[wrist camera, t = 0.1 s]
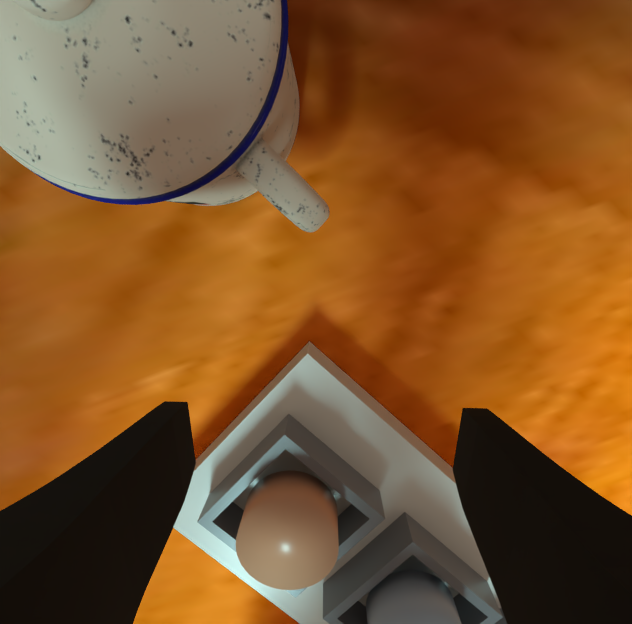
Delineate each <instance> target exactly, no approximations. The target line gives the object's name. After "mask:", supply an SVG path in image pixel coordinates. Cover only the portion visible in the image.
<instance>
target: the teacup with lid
mask: <svg viewBox="0 0 632 624" xmlns="http://www.w3.org/2000/svg"><path fill="white" fill-rule="evenodd" d="M299 106H300V103H299V92H298V86H297V81H296V76H295V72H294V67H293V63H292V58H291V54H290V49H289V45H288V7H287V0H0V146H1V147H2V148H3V149H4V150H5V151H6V152H7V153H9V154H10V155H11V156H12V157H13V158H15V159H16V160H17V161H18V162H20V163H21V164H22V165H24V166H25V167H27V168H28V169H29V170H31V171H32V172H34V173H35V174H37V175H38V176H40V177H41V178H42V179H44V180H46V181H48V182H50V183H51V184H53V185H55V186H57V187H59V188H61V189H64V190H66V191H68V192H70V193H73V194H76V195H79V196H82V197H85V198H88V199H92V200H96V201H101V202H106V203H114V204H129V205H138V204H150V203H156V202H162V201H170V202H178V203H187V204H195V205H203V206H215V205H224V204H229V203H233V202H236V201H239V200H241V199H244V198H246V197H248V196H250V195H252V194H254V193H255V192H257V191H259V192H260V193H261V194H262V195H263V196H264V197H265V198H266V199H267V200H268V201H269V202H271V203H272V204H273V205H274V206H275V207H276V208H277V209H278V210H279V211H280V212H281V213H283V214H284V215H285V216H286V217H287V218H288V219H289V220H291V221H292V222H293V223H294V224H295V225H296V226H298V227H299V228H300V229H302V230H304V231H306V232H314V231H316V230H317V229H319V228H320V227H321V226H322V224H323V223H324V222H325V221H326V220H327V219H328V217H329V207H328V205H327V204H326V202H325V201H324V200H323V199H322V198H321V197H320V196H319V195H318V194H317V192H316V191H315V190H314V189H313V188H312V187H311V186H310V185H309V184H308V183H307V182H306V181H305V180H304V179H303V178H302V177H301V176H300V175H299V174H298V173H297V172H296V171H295V170H294V169H293V168H292V167H291V166H290V165H289V164H288V163H287V162H286V159H287V157H288V155H289V153H290V151H291V149H292V146H293V144H294V140H295V137H296V133H297V128H298V123H299Z"/></svg>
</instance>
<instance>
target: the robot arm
mask: <svg viewBox="0 0 632 624" xmlns="http://www.w3.org/2000/svg"><path fill="white" fill-rule="evenodd" d="M195 465H196V461H195V454H194V446H193V439H192V432H191V424H190V417H189V410H188V403H187V402H163V403H162V404H160V405H159V406H157V407H156V408H155V409H153V410H152V411H150V412H149V413H148V414H146V415H145V416H144V417H142V418H141V419H140V420H138V421H137V422H136V423H134V424H133V425H132V426H130V427H129V428H128V429H126V430H125V431H124V432H122V433H121V434H120V435H118V436H117V437H115V438H114V439H113V440H111V441H110V442H109V443H107V444H106V445H104V446H103V447H102V448H100V449H99V450H97V451H96V452H95V453H93V454H92V455H90V456H89V457H87V458H86V459H84V460H83V461H81V462H80V463H78V464H77V465H75V466H74V467H72V468H71V469H69V470H68V471H66V472H65V473H63V474H62V475H61V476H59V477H57V478H56V479H54V480H53V481H51V482H50V483H48V484H46V485H45V486H43V487H41V488H40V489H38V490H36V491H35V492H33V493H31V494H30V495H28V496H26V497H24V498H23V499H21V500H19V501H17V502H16V503H14V504H12V505H10V506H9V507H7V508H5V509H3V510H1V511H0V624H133V621H134V618H135V616H136V613H137V610H138V607H139V605H140V602H141V600H142V597H143V595H144V592H145V590H146V587H147V585H148V583H149V581H150V578H151V576H152V574H153V572H154V569H155V567H156V565H157V563H158V560H159V558H160V556H161V554H162V551H163V549H164V547H165V545H166V542H167V540H168V538H169V536H170V533H171V531H172V529H173V527H174V524H175V522H176V520H177V517H178V515H179V513H180V511H181V508H182V506H183V503H184V501H185V498H186V495H187V492H188V489H189V485H190V482H191V479H192V475H193V472H194V468H195ZM453 474H454V478H455V482H456V486H457V490H458V494H459V497H460V501H461V505H462V508H463V511H464V514H465V516H466V519H467V521H468V524H469V527H470V529H471V532H472V534H473V537H474V539H475V542H476V544H477V547H478V549H479V552H480V554H481V557H482V559H483V562H484V564H485V567H486V570H487V572H488V575H489V577H490V580H491V582H492V585H493V587H494V590H495V592H496V595H497V597H498V600H499V602H500V605H501V608H502V611H503V614H504V616H505V619H506V622H507V624H632V516H631V515H629V514H628V513H626V512H625V511H623V510H622V509H620V508H618V507H617V506H615V505H614V504H612V503H611V502H609V501H608V500H606V499H605V498H603V497H602V496H600V495H599V494H598V493H596V492H595V491H593V490H592V489H591V488H589V487H588V486H586V485H585V484H584V483H582V482H581V481H579V480H578V479H576V478H575V477H574V476H572V475H571V474H570V473H568V472H567V471H566V470H564V469H563V468H562V467H560V466H559V465H558V464H556V463H555V462H554V461H552V460H551V459H550V458H549V457H547V456H546V455H545V454H543V453H542V452H541V451H540V450H538V449H537V448H536V447H535V446H533V445H532V444H531V443H530V442H528V441H527V440H526V439H525V438H523V437H522V436H521V435H520V434H518V433H517V432H516V431H515V430H514V429H512V428H511V427H510V426H509V425H507V424H506V423H505V422H504V421H502V420H501V419H500V418H499V417H497V416H496V415H495V414H494V413H492V412H491V411H489V410H488V409H483V408H463V410H462V416H461V422H460V429H459V435H458V441H457V447H456V453H455V459H454V465H453Z"/></svg>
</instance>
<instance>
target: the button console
mask: <svg viewBox="0 0 632 624" xmlns="http://www.w3.org/2000/svg"><path fill="white" fill-rule="evenodd" d="M195 461H196V465H195V468H194V472H193V475H192V479H191V482H190V485H189V489H188V492H187V495H186V498H185V501H184V503H183V506H182V508H181V511H180V513H179V515H178V517H177V520H176V522H175V524H174V527H173V528H175V529H176V530H177V531H179V532H180V533H181V534H182V535H184V536H185V537H186V538H188V539H189V540H190V541H192V542H193V543H194V544H196V545H197V546H198V547H200V548H201V549H202V550H204V551H205V552H206V553H207V554H209V555H210V556H211V557H213V558H214V559H215V560H217V561H218V562H219V563H221V564H222V565H223V566H225V567H226V568H227V569H229V570H230V571H231V572H232V573H234V574H235V575H236V576H238V577H239V578H240V579H242V580H243V581H244V582H246V583H247V584H248V585H250V586H251V587H252V588H254V589H255V590H256V591H257V592H259V593H260V594H261V595H263V596H264V597H265V598H267V599H268V600H269V601H271V602H272V603H273V604H275V605H276V606H277V607H279V608H280V609H281V610H282V611H284V612H285V613H286V614H288V615H289V616H290V617H292V618H293V619H294V620H296V621H297V622H298V623H300V624H368V623H367V613H366V601H367V597H368V595H369V592H370V591H371V589H373V588H374V587H375V586H376V585H377V584H379V583H380V582H381V581H382V580H383V579H384V578H386V577H387V576H388V575H390V574H392V573H395V572H398V571H404V570H417V571H423V572H427V573H429V574H432V575H434V576H436V577H437V578H439V579H440V580H442V581H443V582H444V583H445V584H446V586H447V587H448V588H449V590H450V591H451V594H452V596H453V599H454V602H455V605H456V608H457V611H458V614H459V617H460V620H461V623H462V624H507V622H506V619H505V616H504V614H503V611H502V608H501V605H500V602H499V600H498V597H497V595H496V592H495V590H494V587H493V585H492V582H491V580H490V577H489V575H488V572H487V570H486V567H485V564H484V562H483V559H482V557H481V554H480V552H479V549H478V547H477V544H476V542H475V539H474V537H473V534H472V532H471V529H470V527H469V524H468V521H467V519H466V516H465V514H464V511H463V508H462V505H461V501H460V497H459V494H458V490H457V486H456V482H455V478H454V474H453V468H452V467H451V466H450V465H449V464H448V463H446V462H445V461H444V460H443V459H442V458H441V457H440V456H439V455H437V454H436V453H435V452H434V451H433V450H432V449H431V448H430V447H428V446H427V445H426V444H425V443H424V442H423V441H422V440H420V439H419V438H418V437H417V436H416V435H415V434H414V433H413V432H411V431H410V430H409V429H408V428H407V427H406V426H405V425H404V424H402V423H401V422H400V421H399V420H398V419H397V418H396V417H394V416H393V415H392V414H391V413H390V412H389V411H388V410H387V409H385V408H384V407H383V406H382V405H381V404H380V403H379V402H378V401H376V400H375V399H374V398H373V397H372V396H371V395H370V394H368V393H367V392H366V391H365V390H364V389H363V388H362V387H361V386H359V385H358V384H357V383H356V382H355V381H354V380H353V379H352V378H350V377H349V376H348V375H347V374H346V373H345V372H344V371H342V370H341V369H340V368H339V367H338V366H337V365H336V364H335V363H333V362H332V361H331V360H330V359H329V358H328V357H327V356H326V355H324V354H323V353H322V352H321V351H320V350H319V349H318V348H316V347H315V346H314V345H313V344H312V343H311V342H310V341H309V342H308V343H307V344H306V345H305V346H304V347H303V348H302V349H301V350H300V351H299V353H298V354H297V355H296V356H295V357H294V358H293V359H292V360H291V361H290V362H289V363H288V364H287V365H286V366H285V367H284V368H283V369H282V370H281V371H280V372H279V373H278V374H277V375H276V377H275V378H274V379H273V380H272V381H271V382H270V383H269V384H268V385H267V386H266V387H265V388H264V389H263V390H262V391H261V392H260V393H259V394H258V395H257V396H256V397H255V398H254V400H253V401H252V402H251V403H250V404H249V405H248V406H247V407H246V408H245V409H244V410H243V411H242V412H241V413H240V414H239V415H238V416H237V417H236V418H235V419H234V420H233V421H232V423H231V424H230V425H229V426H228V427H227V428H226V429H225V430H224V431H223V432H222V433H221V434H220V435H219V436H218V437H217V438H216V439H215V440H214V441H213V442H212V443H211V444H210V445H209V447H208V448H207V449H206V450H205V451H204V452H203V453H202V454H201V455H200V456H199V457H198V458H197V459H196V460H195ZM288 470H290V471H300V472H304V473H308V474H310V475H313V476H314V477H316V478H318V479H319V480H321V481H322V482H323V483H324V484H325V485H326V486H327V487H328V488H329V489H330V490H331V492H332V494H333V495H334V498H335V500H336V504H337V511H338V540H339V552H338V558H337V561H336V563H335V565H334V567H333V569H332V570H331V571H330V573H329V574H328V575H327V576H326V577H325V578H324V579H322V580H321V581H320V582H318V583H316V584H314V585H312V586H310V587H306V588H303V589H298V590H281V589H276V588H272V587H269V586H266V585H264V584H262V583H260V582H258V581H257V580H255V579H254V578H253V577H251V576H250V575H249V574H248V573H247V572H246V571H245V569H244V568H243V566H242V565H241V563H240V561H239V559H238V556H237V552H236V536H237V533H238V529H239V526H240V523H241V519H242V516H243V512H244V509H245V505H246V502H247V498H248V496H249V493H250V491H251V490H252V488H253V487H254V486H255V485H256V484H257V483H258V482H259V481H260V480H261V479H263V478H264V477H266V476H268V475H270V474H273V473H276V472H280V471H288Z"/></svg>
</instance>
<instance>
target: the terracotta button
mask: <svg viewBox="0 0 632 624" xmlns="http://www.w3.org/2000/svg"><path fill="white" fill-rule="evenodd" d="M236 552H237V556H238V559H239V561H240V563H241V565H242V566H243V568H244V569H245V571H246V572H247V573H248V574H249V575H250V576H251V577H253V578H254V579H255V580H257V581H258V582H260V583H262V584H264V585H266V586H269V587H272V588H276V589H281V590H298V589H303V588H306V587H310V586H312V585H314V584H316V583H318V582H320V581H321V580H322V579H324V578H325V577H326V576H327V575H328V574H329V573H330V571H331V570H332V569H333V567H334V565H335V563H336V561H337V558H338V552H339V540H338V511H337V504H336V500H335V498H334V495H333V494H332V492H331V490H330V489H329V488H328V487H327V486H326V485H325V484H324V483H323V482H322V481H321V480H319V479H318V478H316V477H314V476H313V475H310V474H308V473H304V472H300V471H290V470H288V471H280V472H276V473H273V474H270V475H268V476H266V477H264V478H263V479H261V480H260V481H259V482H258V483H257V484H256V485H255V486H254V487H253V488H252V490H251V491H250V493H249V496H248V498H247V502H246V505H245V509H244V512H243V516H242V519H241V523H240V526H239V529H238V533H237V536H236Z"/></svg>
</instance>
